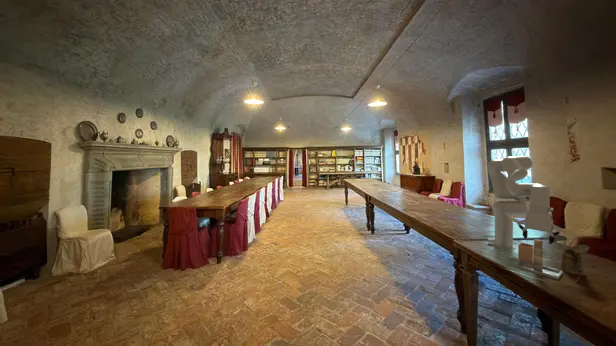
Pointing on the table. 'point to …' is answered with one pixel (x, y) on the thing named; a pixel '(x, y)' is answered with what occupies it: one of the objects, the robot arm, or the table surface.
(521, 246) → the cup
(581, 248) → the wooden mug
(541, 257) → the dowel
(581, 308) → the table surface
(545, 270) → the tray
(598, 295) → the table surface
